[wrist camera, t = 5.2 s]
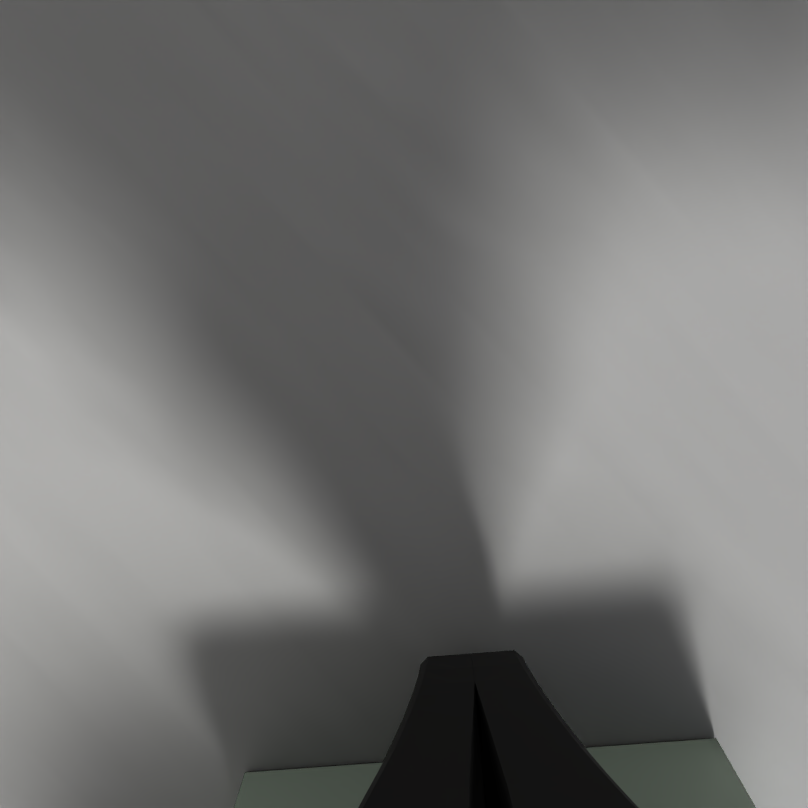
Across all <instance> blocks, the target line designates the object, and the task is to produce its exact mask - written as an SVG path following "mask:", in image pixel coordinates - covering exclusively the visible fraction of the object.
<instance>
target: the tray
mask: <svg viewBox="0 0 808 808" xmlns="http://www.w3.org/2000/svg"><path fill="white" fill-rule="evenodd" d="M586 749H587V750H588V752H589V753H590V754H591V755H592V756H593V758H594V759H595V760H596V761H597V762H598V763H599V765H600V766H601V767H602V768H603V769H604V770H605V772H606V773H607V774H608V775H609V776H610V777H611V778H612V779H613V780H614V782H615V783H616V784H617V785H618V786H619V787H620V788H621V789H622V790H623V791H624V792H625V794H626V795H627V796H628V797H629V798H630V799H631V800H632V801H633V802H634V803H635V804H636V805H637V806H638V807H639V808H756V807H755V805H754V803H753V802H752V800H751V798H750V796H749V795H748V793H747V791H746V789H745V788H744V786H743V784H742V783H741V781H740V779H739V777H738V776H737V774H736V772H735V770H734V769H733V767H732V765H731V763H730V762H729V760H728V758H727V756H726V755H725V753H724V751H723V749H722V748H721V746H720V744H719V742H718V741H717V739H716V738H714V739H700V740H687V741H673V742H659V743H645V744H632V745H618V746H604V747H590V748H586ZM381 765H382V763H370V764H356V765H343V766H329V767H315V768H301V769H288V770H274V771H260V772H246V773H245V774H244V778H243V781H242V784H241V787H240V790H239V793H238V797H237V800H236V803H235V806H234V808H358V807H359V805H360V803H361V802H362V800H363V798H364V796H365V794H366V793H367V791H368V789H369V787H370V785H371V783H372V782H373V780H374V778H375V776H376V774H377V773H378V771H379V769H380V767H381Z"/></svg>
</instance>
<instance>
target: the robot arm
mask: <svg viewBox="0 0 808 808" xmlns="http://www.w3.org/2000/svg"><path fill="white" fill-rule="evenodd" d="M358 808H639V807H638V806H637V805H636V804H635V803H634V802H633V801H632V800H631V799H630V798H629V797H628V796H627V795H626V794H625V792H624V791H623V790H622V789H621V788H620V787H619V786H618V785H617V784H616V783H615V782H614V780H613V779H612V778H611V777H610V776H609V775H608V774H607V773H606V772H605V770H604V769H603V768H602V767H601V766H600V765H599V763H598V762H597V761H596V760H595V759H594V758H593V756H592V755H591V754H590V753H589V752H588V750H587V749H586V748H585V747H584V745H583V744H582V743H581V742H580V740H579V739H578V738H577V737H576V735H575V734H574V733H573V732H572V730H571V729H570V728H569V727H568V725H567V724H566V723H565V721H564V720H563V719H562V717H561V716H560V715H559V713H558V712H557V711H556V709H555V708H554V707H553V705H552V704H551V702H550V701H549V699H548V698H547V697H546V695H545V694H544V692H543V691H542V689H541V688H540V686H539V685H538V683H537V682H536V680H535V679H534V677H533V675H532V674H531V672H530V670H529V669H528V667H527V665H526V663H525V661H524V659H523V657H522V656H520V655H519V654H518V653H517V652H516V651H514V650H513V651H499V652H486V653H473V654H460V655H446V656H433V657H427V659H426V660H425V661H424V662H423V663H422V664H421V666H420V671H419V675H418V679H417V682H416V685H415V689H414V692H413V694H412V697H411V700H410V702H409V705H408V708H407V710H406V713H405V715H404V718H403V720H402V722H401V724H400V727H399V729H398V731H397V733H396V735H395V738H394V740H393V742H392V744H391V746H390V748H389V751H388V753H387V755H386V757H385V759H384V761H383V763H382V765H381V767H380V769H379V771H378V773H377V774H376V776H375V778H374V780H373V782H372V783H371V785H370V787H369V789H368V791H367V793H366V794H365V796H364V798H363V800H362V802H361V803H360V805H359V807H358Z"/></svg>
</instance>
